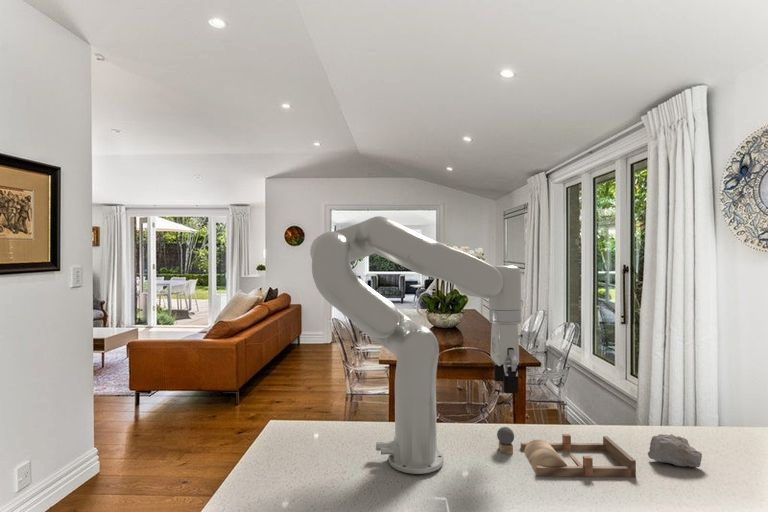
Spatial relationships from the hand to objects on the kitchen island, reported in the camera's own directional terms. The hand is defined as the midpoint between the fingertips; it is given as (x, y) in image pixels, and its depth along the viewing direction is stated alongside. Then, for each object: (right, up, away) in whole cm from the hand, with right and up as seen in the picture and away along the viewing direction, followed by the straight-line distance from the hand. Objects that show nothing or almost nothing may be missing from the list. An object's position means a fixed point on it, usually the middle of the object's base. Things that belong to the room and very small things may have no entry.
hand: (505, 386), depth 108 cm
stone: (+32, -15, -6) cm, 36 cm away
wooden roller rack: (+14, -21, -5) cm, 26 cm away
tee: (0, -16, 0) cm, 16 cm away
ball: (0, -14, 0) cm, 14 cm away
